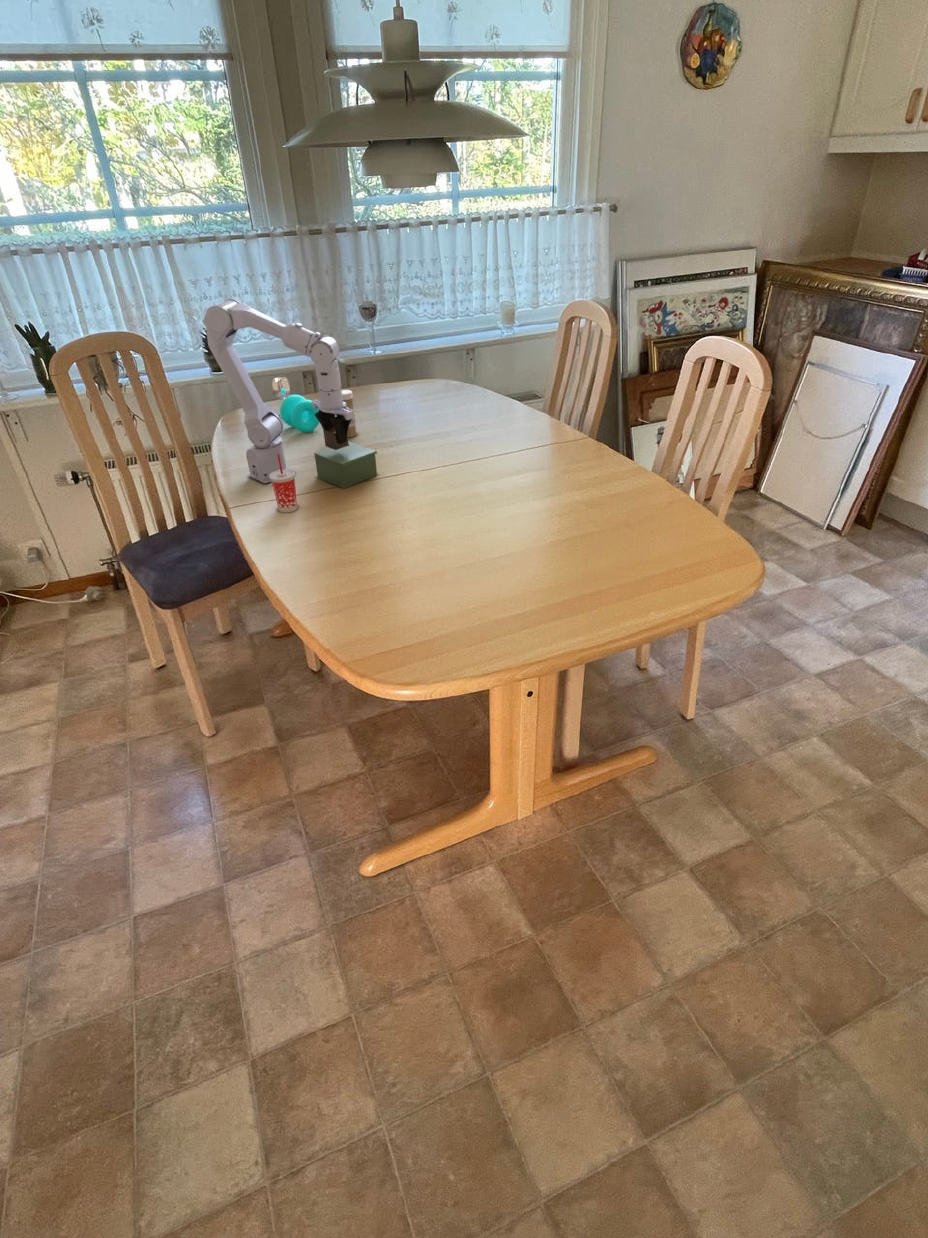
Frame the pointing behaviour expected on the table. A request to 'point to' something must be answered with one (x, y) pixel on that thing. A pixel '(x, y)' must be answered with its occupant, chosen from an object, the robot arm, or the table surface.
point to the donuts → (299, 413)
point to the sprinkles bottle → (348, 398)
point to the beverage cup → (284, 488)
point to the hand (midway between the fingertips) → (336, 440)
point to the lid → (346, 454)
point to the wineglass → (281, 388)
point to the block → (333, 439)
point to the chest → (346, 471)
